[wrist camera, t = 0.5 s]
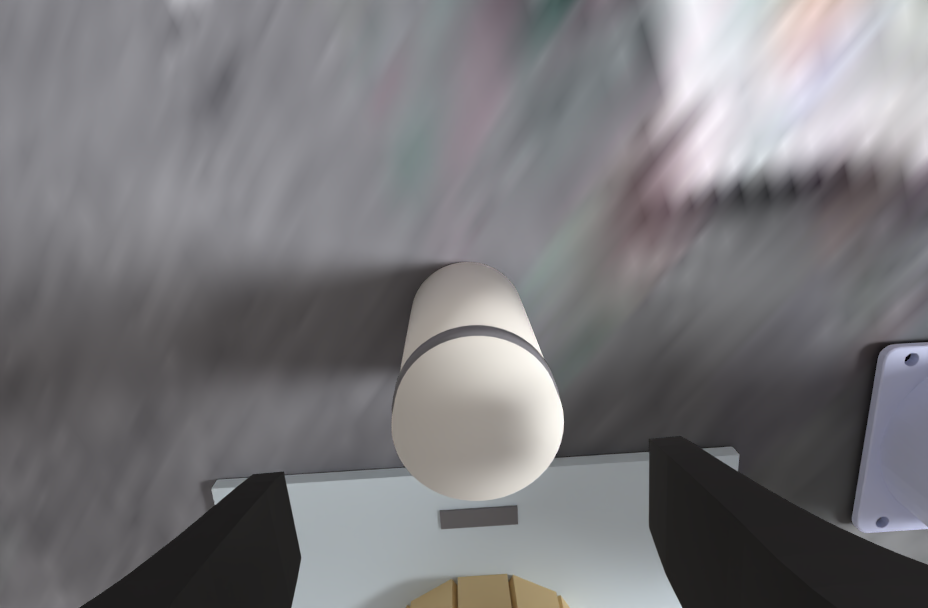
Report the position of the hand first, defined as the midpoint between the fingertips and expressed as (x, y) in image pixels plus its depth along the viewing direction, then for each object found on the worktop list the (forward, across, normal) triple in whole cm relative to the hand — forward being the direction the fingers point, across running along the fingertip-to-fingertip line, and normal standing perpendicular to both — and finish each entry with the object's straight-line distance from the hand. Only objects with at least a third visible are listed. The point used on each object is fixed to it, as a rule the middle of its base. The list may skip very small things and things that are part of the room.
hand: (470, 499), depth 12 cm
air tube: (+10, 0, 0) cm, 10 cm away
